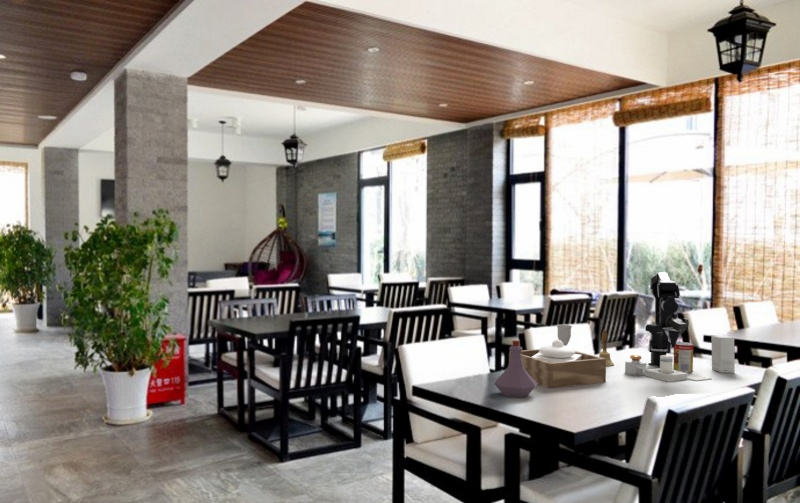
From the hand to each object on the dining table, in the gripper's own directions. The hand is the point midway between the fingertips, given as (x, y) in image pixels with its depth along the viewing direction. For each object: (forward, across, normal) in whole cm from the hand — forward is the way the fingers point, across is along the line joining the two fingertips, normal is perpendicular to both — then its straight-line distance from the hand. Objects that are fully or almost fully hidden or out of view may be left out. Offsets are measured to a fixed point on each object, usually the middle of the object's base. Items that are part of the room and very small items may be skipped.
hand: (666, 347), depth 258 cm
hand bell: (+13, -5, +31) cm, 34 cm away
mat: (+12, +10, -6) cm, 17 cm away
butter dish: (+12, -44, +17) cm, 49 cm away
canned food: (+13, +19, +8) cm, 24 cm away
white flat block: (+12, 0, 0) cm, 12 cm away
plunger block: (+12, -7, +10) cm, 17 cm away
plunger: (+12, -7, +10) cm, 17 cm away
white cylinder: (+12, 0, 0) cm, 12 cm away
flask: (+13, -76, 0) cm, 77 cm away
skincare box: (+13, +34, 0) cm, 36 cm away
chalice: (+13, -23, +38) cm, 46 cm away
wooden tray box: (+12, -44, +17) cm, 49 cm away
